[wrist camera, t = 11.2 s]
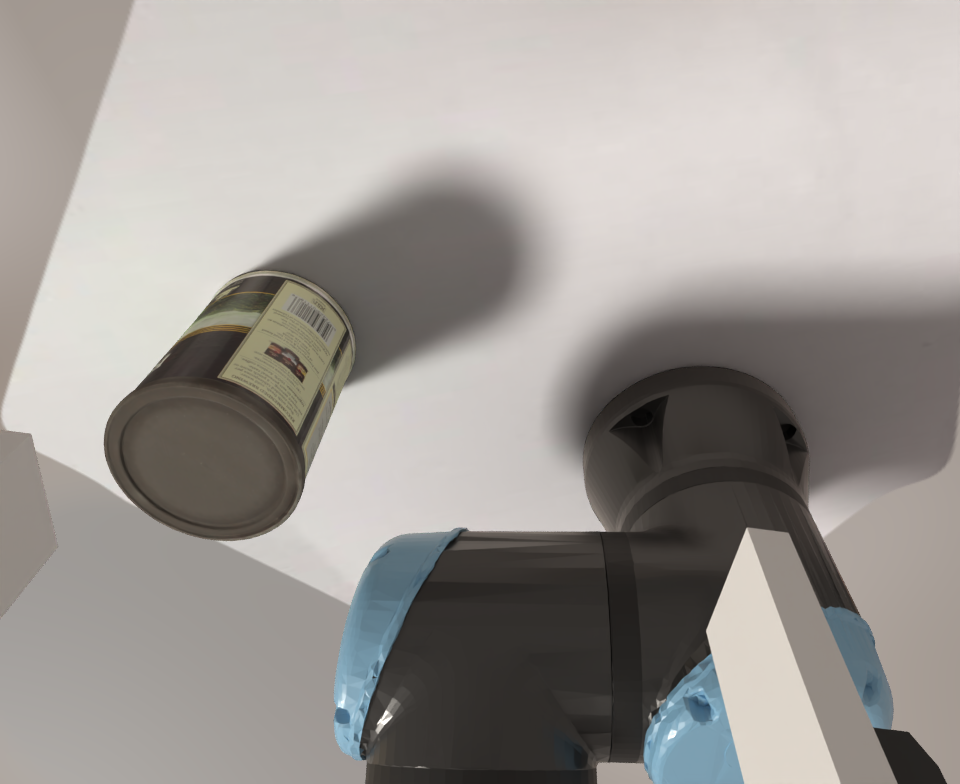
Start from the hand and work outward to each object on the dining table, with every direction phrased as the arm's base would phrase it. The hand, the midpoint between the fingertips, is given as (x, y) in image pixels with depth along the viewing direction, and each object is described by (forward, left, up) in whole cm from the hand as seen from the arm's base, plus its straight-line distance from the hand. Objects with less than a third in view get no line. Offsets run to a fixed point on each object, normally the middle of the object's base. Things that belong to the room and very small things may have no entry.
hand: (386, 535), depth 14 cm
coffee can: (-15, +13, -34) cm, 39 cm away
